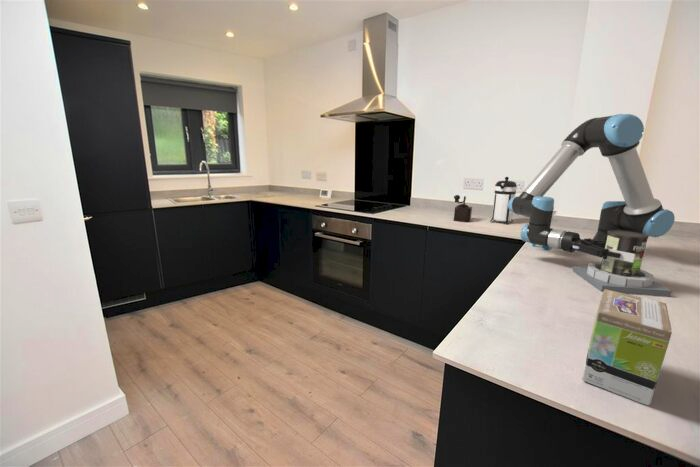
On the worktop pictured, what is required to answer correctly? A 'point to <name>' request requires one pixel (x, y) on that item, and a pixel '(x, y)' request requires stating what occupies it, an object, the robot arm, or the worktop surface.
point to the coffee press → (503, 201)
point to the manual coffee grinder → (462, 211)
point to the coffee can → (625, 243)
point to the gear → (542, 246)
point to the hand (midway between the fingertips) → (639, 255)
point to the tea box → (628, 345)
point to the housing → (621, 281)
